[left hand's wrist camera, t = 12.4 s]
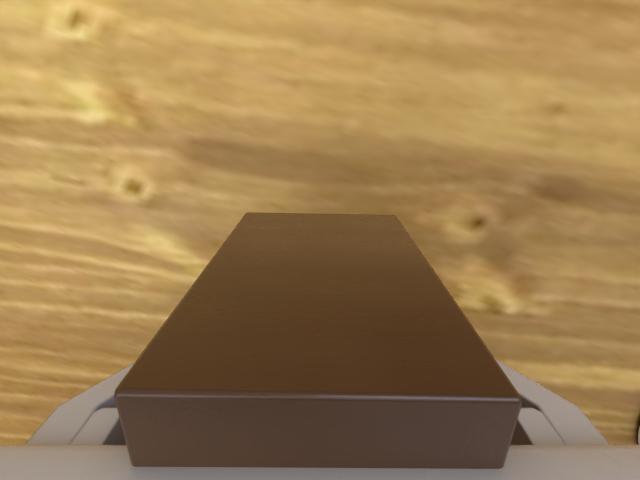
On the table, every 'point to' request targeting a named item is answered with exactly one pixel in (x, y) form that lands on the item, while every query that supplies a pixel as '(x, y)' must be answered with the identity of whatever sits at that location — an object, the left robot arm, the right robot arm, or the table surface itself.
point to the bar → (318, 358)
